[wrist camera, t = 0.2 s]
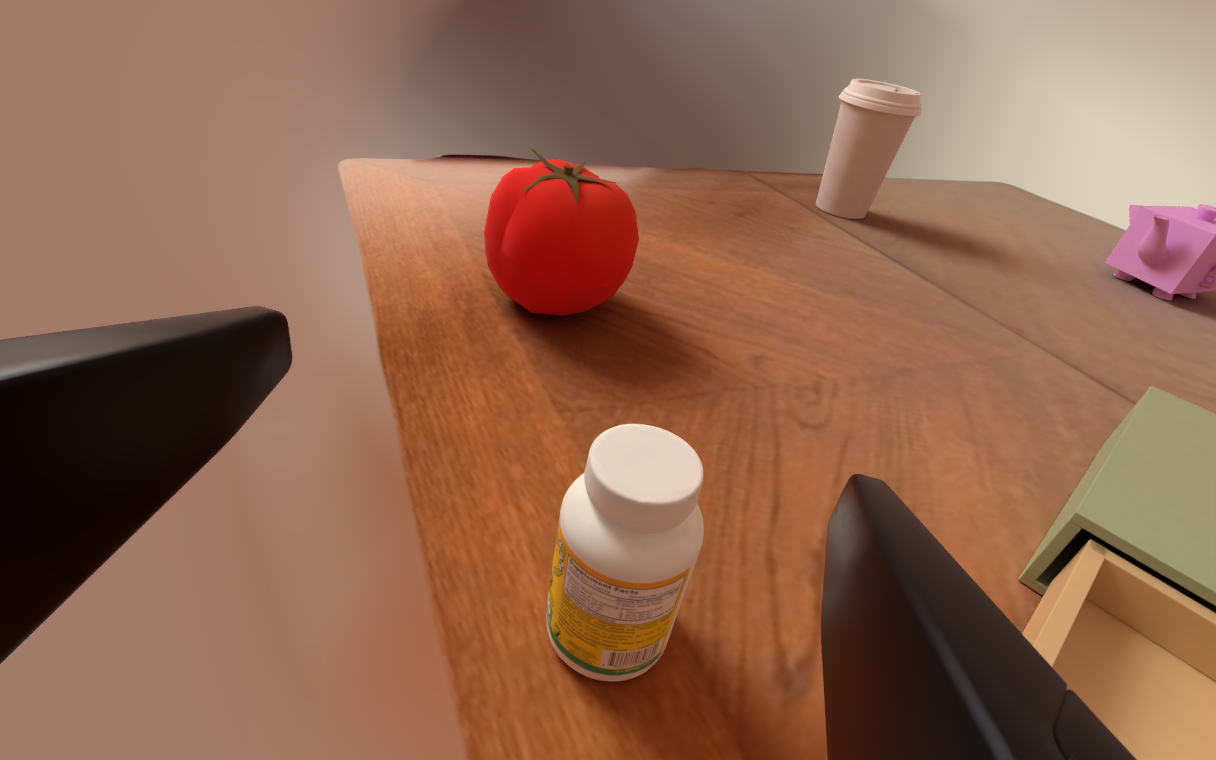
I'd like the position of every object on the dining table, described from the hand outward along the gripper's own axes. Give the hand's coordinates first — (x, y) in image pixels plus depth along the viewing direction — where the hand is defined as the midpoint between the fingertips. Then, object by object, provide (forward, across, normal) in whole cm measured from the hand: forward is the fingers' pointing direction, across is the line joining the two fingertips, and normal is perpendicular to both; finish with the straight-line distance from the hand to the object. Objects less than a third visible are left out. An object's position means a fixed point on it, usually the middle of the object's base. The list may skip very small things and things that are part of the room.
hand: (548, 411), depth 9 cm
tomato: (+36, +10, +16) cm, 40 cm away
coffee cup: (+79, -15, +13) cm, 81 cm away
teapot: (+77, -52, +13) cm, 93 cm away
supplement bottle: (+10, -1, +17) cm, 20 cm away
